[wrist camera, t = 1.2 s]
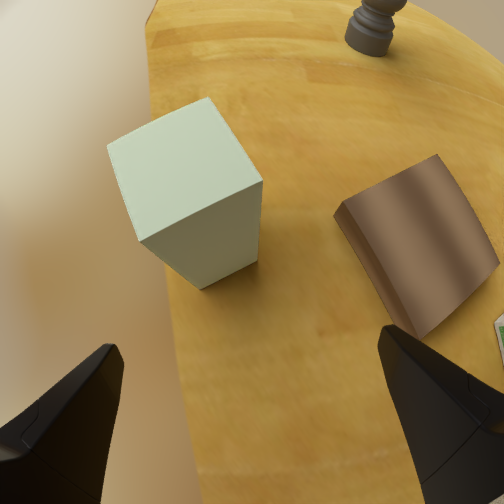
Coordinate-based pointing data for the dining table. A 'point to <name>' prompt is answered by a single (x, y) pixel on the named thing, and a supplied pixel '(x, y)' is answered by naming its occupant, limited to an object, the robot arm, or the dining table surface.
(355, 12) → the candle holder
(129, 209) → the sage pillar block
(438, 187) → the walnut block
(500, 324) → the skincare box
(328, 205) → the dining table surface
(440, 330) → the dining table surface
